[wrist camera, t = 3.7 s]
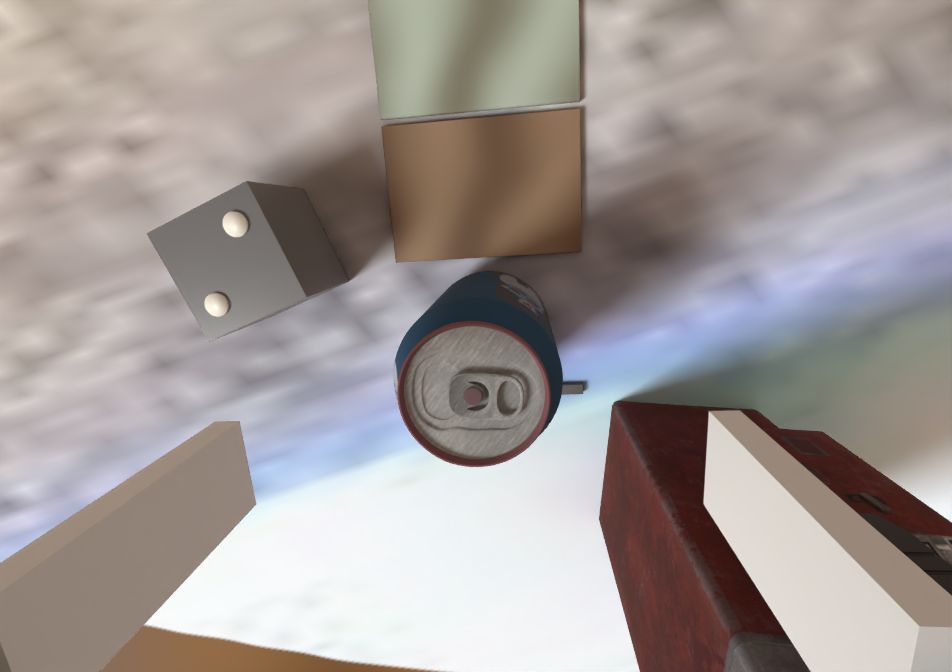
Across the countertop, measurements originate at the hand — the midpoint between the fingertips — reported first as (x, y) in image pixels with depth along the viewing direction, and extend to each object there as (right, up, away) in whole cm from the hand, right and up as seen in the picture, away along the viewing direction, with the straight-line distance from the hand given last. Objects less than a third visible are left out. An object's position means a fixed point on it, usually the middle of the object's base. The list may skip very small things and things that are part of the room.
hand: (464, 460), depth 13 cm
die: (-12, +8, +16) cm, 21 cm away
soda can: (+1, +4, +16) cm, 17 cm away
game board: (0, +16, +13) cm, 20 cm away
